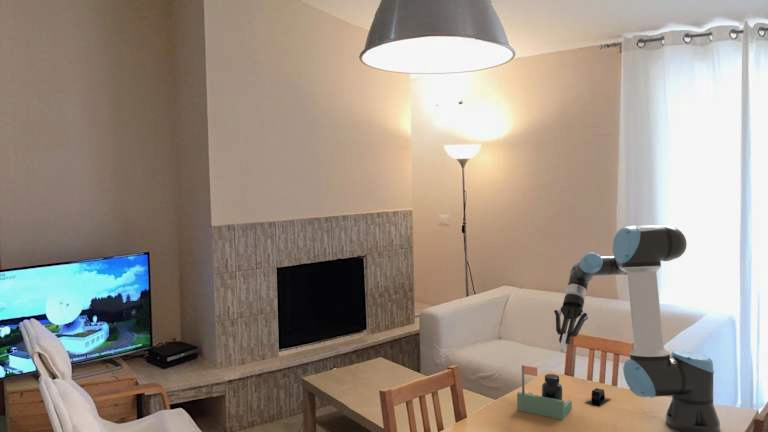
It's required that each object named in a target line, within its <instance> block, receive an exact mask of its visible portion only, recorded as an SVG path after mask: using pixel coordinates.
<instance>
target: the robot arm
mask: <svg viewBox="0 0 768 432" xmlns="http://www.w3.org/2000/svg"><path fill="white" fill-rule="evenodd" d="M686 249H687V239H686V236H685V235H684V233H683V232H682V231H681V230H680V229H679V228H677V227H676V226H675V227H674V226H672V225H669V224H668V225H667V224H660V225H631V226H624V227H621V228H620V229H619V230H618V231H616V234H615V236H614V238H613V242H612V255H609V256H608V255H605V256H603V255H602V256H601V255H600V254H599V253H595V252H593V251H592V252H587V253H585V254H584V255H583V256H582V257H581V258H580V260H579V262H576V263H573V265H572V267H571V270H570V274H569V279H568V281H567V287H566V290H565V294H564V297H563V298H564V299H563V302H562V306H561V308H560V309H558V310H557V309H555V310H554V311H553V312H554V315H555V331H556V333H557V335H558V336H559V339H558V341H559V344H560V346H559V351H560V352H561V353H566V352H567V347H568V345H570V344H571V340H572V338H573V337H575V338H576V337H577V336H578V335H579V334H580V331H581V329H582V327H583V325H584V323H585V322H586V321H587V320H588V319H589V315H588V313H587V312H584V310H583V308H584V305H585V300H586V294H587V290H588V288H589V287H588V285H589V283H590V281H591V280H592V279H593V278H594V277H597V276H599V277H600V276H614V275H615V276H618V275H620V276H621V275H623V276H627V282H628V283H627V284H628V293H629V304H630V315H631V317H630V318H631V329H632V339H633V349H632V350H631V351H630V352H629V358H628V359H627V360H625V361H624V363H623V366H622V367H623V368H622V369H623V370H622V371H623V376H624V380H625V382H626V384H627V387H628V388H629V389H630V391H631V392H632V393H633V394H634V395H635V396H636V397H640V398H655V397H656V398H657V397H671V400H670V404H669V406H668V408H667V410H666V414H665V417H666V419H665V420H666V423H667V425H668V426H670V427H671V428H672V429H675V430H677V431H681V432H719V431H720V429H721V422H720V418H719V416H718V414H717V411H716V407H715V405H714V373H715V371H714V363H713V360H712V359H711V358H710V357H708V356H706V355H704V354H703V353H698V352H694V351H689V350H683V349H682V350H681V349H679V350H677V349H676V350H673V351H672V352H671V354H670V352H669V351H668V350H666V348H665V347H664V338H663V337H664V335H663V329H662V328H663V327H662V317H661V305H660V296H659V287H658V285H659V284H658V277H657V276H658V275H657V274H658V273H657V272H658V271H659V270H660V268H661V267H662V262H670V261H673V260H676V259H678V258H680V257H682V256H683V254H684V253H685V252H686ZM562 315H563V320H562V322H561V316H562ZM577 319H578V320H577ZM670 355H671V356H670Z"/></svg>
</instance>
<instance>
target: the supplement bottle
mask: <svg viewBox="0 0 768 432" xmlns="http://www.w3.org/2000/svg"><path fill="white" fill-rule="evenodd" d="M541 396H543V397H548V398H553V399H558V400H563V386H562V384H561V383H560V375H557V374H553V373H548V374H545V375H544V381H543V383H542V385H541Z"/></svg>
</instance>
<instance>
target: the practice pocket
mask: <svg viewBox="0 0 768 432" xmlns="http://www.w3.org/2000/svg"><path fill="white" fill-rule="evenodd" d="M525 375H527V376H531V377H532V376H533V377H538V367H536V366H535V367H534V366H530V365H524V364H522V365H521V391H518V392H517V393H516V399H517V400H516V401H517V403H516V404H517V405H516V406H517V407H516V408H517V411H520V412H525V413H530V414H535V415H539V416H545V417H548V418H554V419H556V420H557V419H558V420H562V421H563V420H564V419H565V418H566V416H567V415H568V414H569V412H570V411H571V410H572V407H573V406H572V403H573V402H572V400H571V399H567V401H566V402H565V400H563V399H562V400H558V399H553V398H548V397H543V396H542V395H536V394H533V392H525Z"/></svg>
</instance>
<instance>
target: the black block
mask: <svg viewBox="0 0 768 432" xmlns="http://www.w3.org/2000/svg"><path fill="white" fill-rule="evenodd" d="M605 394H606V393H605V389H602V388H596V387H595V388H594V389H592V390H591V398H590V399H588V400H587V401H585V402H584V404H587V405H590V406H594V407H599V408H601V407H602V406H604V405H605V404H606V403H608V402H609V401H611V400H612V399H611V398H607V397H605V396H606V395H605Z"/></svg>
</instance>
